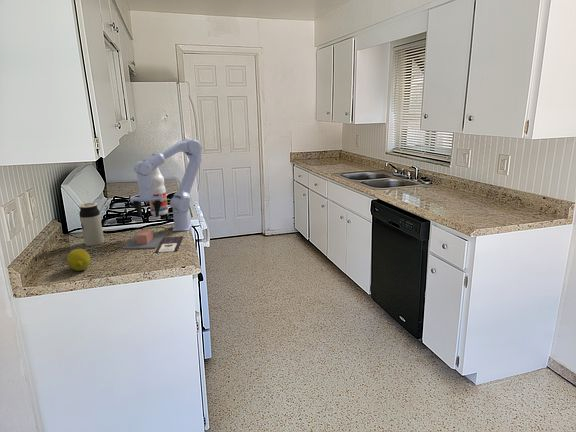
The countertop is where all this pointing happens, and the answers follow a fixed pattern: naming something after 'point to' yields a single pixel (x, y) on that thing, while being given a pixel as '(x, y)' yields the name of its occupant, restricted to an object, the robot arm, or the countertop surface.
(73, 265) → the lemon
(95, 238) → the travel mug
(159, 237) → the mat
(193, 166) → the robot arm
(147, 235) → the block
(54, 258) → the countertop surface
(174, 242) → the chocolate bar
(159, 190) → the fruit juice
